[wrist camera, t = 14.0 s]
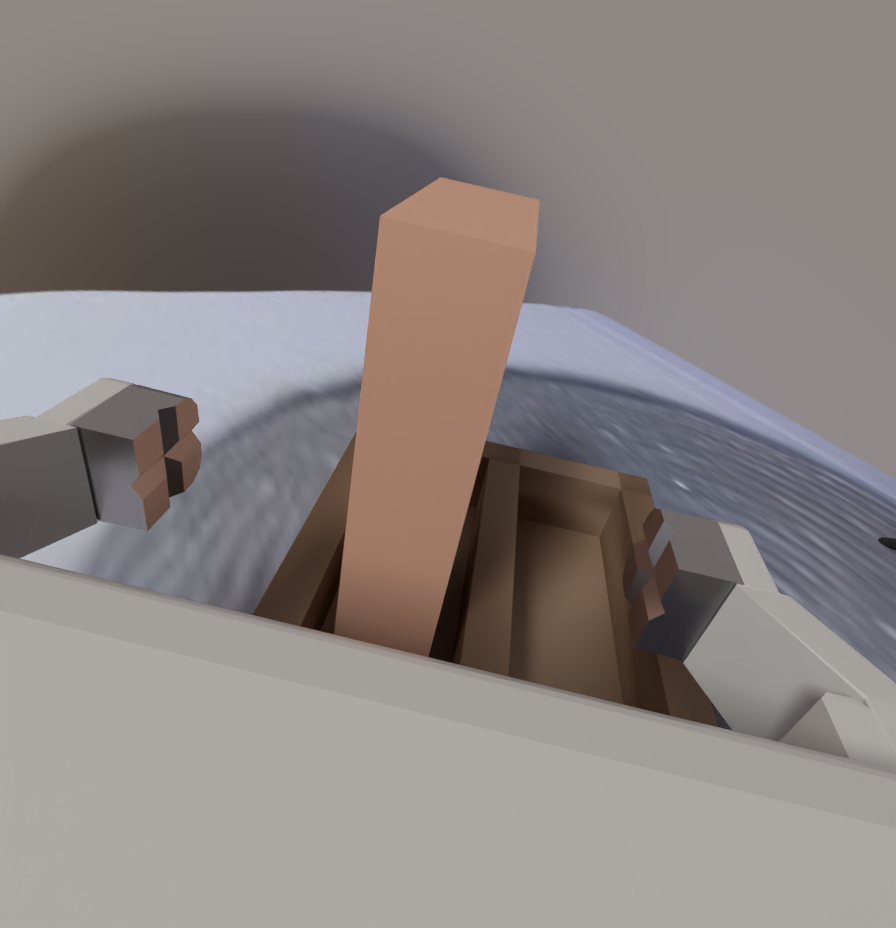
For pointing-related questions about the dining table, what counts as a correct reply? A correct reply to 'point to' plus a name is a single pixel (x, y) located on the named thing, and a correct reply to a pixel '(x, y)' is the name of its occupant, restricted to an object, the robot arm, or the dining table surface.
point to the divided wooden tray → (518, 581)
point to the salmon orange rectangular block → (428, 399)
